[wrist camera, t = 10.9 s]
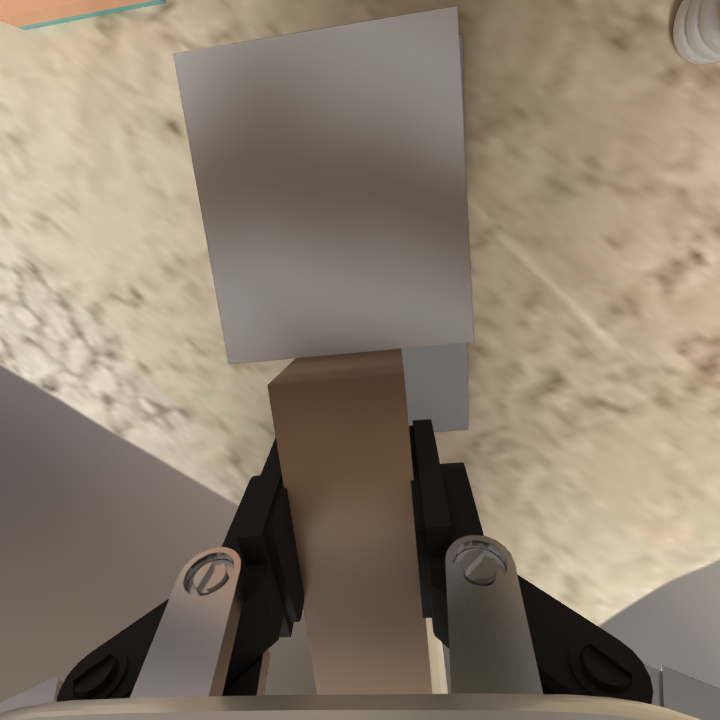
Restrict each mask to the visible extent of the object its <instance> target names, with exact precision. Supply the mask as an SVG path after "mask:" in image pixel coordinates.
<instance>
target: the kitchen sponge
mask: <svg viewBox="0 0 720 720" xmlns="http://www.w3.org/2000/svg"><path fill="white" fill-rule="evenodd" d="M162 3H166V2H165V0H0V21H2V22H5V23H8V24H10V25H13V26H15V27H18V28H21V29H23V30H28V29H33V28H39V27H44V26H49V25H54V24H59V23H64V22H69V21H74V20H80V19H85V18H90V17H95V16H100V15H105V14H110V13H115V12H121V11H126V10H131V9H136V8H141V7H146V6H151V5H157V4H162Z"/></svg>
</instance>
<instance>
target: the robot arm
mask: <svg viewBox="0 0 720 720" xmlns="http://www.w3.org/2000/svg"><path fill="white" fill-rule="evenodd" d="M409 433H410V445H411V456H412V467H413V479H414V480H411V491H412V502H413V514H414V525H415V536H416V547H417V558H418V569H419V580H420V591H421V603H422V614H423V618H426V626H427V637H428V649H429V660H430V671H431V683H432V694H350V695H269V696H268V695H267V696H264V695H265V688H266V681H267V674H268V667H269V660H270V647H271V646H272V645H273V644H274V643H275V642H276V641H278V640H279V637H291V634H292V628H293V623H294V622H299V621H300V619H301V616H302V610H303V605H304V599H305V598H304V592H303V585H302V579H301V573H300V567H299V560H298V554H297V548H296V541H295V535H294V529H293V523H292V516H291V510H290V504H289V497H288V491H287V488H284V485H283V478H282V472H281V466H280V460H279V453H278V447H277V441H276V438H275V440H274V443H273V446H272V448H271V451H270V453H269V456H268V458H267V461H266V463H265V466H264V468H263V471H262V473H261V476H253V477H252V478H251V480H250V481H249V484H248V486H247V488H246V491H245V493H244V496H243V498H242V500H241V503H240V505H239V507H238V510H237V512H236V514H235V517H234V519H233V522H232V524H231V526H230V529H229V531H228V533H227V536H226V538H225V541H224V543H223V545H222V547H217V548H213V549H209V550H207V551H204V552H202V553H200V554H198V555H197V556H196V557H194V558H193V559H192V560H190V561H189V562H188V563H187V564H186V566H185V567H184V568H183V569H182V571H181V573H180V574H179V576H178V579H177V581H176V584H175V586H174V588H173V591H172V594H171V596H170V598H169V599H168V600H166V601H165V602H163V603H162V604H160V605H159V606H158V607H156V608H155V609H153V610H152V611H150V612H149V613H147V614H146V615H145V616H143V617H142V618H140V619H139V620H137V621H136V622H134V623H133V624H132V625H130V626H129V627H127V628H126V629H124V630H123V631H121V632H120V633H119V634H117V635H116V636H114V637H113V638H111V639H110V640H108V641H107V642H105V643H104V644H103V645H101V646H100V647H98V648H97V649H96V650H94V651H92V652H91V653H90V654H88V655H87V656H86V657H85V658H84V659H82V660H81V661H80V662H79V663H78V664H77V665H76V666H75V667H74V668H73V670H72V671H71V672H70V673H69V675H68V676H67V678H66V679H64V680H61V679H60V677H59V676H57V677H55V678H53V679H51V680H48V681H46V682H44V683H42V684H40V685H38V686H36V687H34V688H31V689H29V690H27V691H25V692H23V693H21V694H19V695H16V696H14V697H12V698H10V699H8V700H6V701H3V702H1V703H0V720H720V688H718V687H715V686H712V685H710V684H707V683H705V682H703V681H700V680H698V679H695V678H693V677H690V676H688V675H685V674H683V673H680V672H678V671H676V670H673V669H670V668H668V667H666V666H663V665H662V668H661V671H660V670H658V669H655V668H653V667H651V666H648V665H646V664H643V662H642V661H641V660H640V659H639V658H638V657H637V655H636V654H635V653H634V652H633V651H632V650H631V649H630V648H628V647H627V646H626V645H625V644H623V643H622V642H621V641H620V640H618V639H616V638H615V637H613V636H612V635H610V634H609V633H607V632H606V631H604V630H603V629H601V628H599V627H598V626H596V625H595V624H593V623H592V622H590V621H589V620H587V619H586V618H584V617H582V616H581V615H579V614H578V613H576V612H575V611H573V610H572V609H570V608H568V607H567V606H565V605H564V604H562V603H561V602H559V601H558V600H556V599H554V598H553V597H551V596H550V595H548V594H547V593H545V592H544V591H542V590H540V589H539V588H537V587H536V586H534V585H533V584H531V583H530V582H528V581H526V580H525V579H523V578H522V577H520V576H519V575H517V571H516V567H515V563H514V560H513V558H512V555H511V554H510V552H509V551H508V550H507V549H506V547H505V546H503V545H502V544H501V543H499V542H498V541H496V540H494V539H491V538H489V537H486V536H484V535H483V531H482V527H481V524H480V520H479V516H478V513H477V509H476V505H475V502H474V498H473V494H472V491H471V487H470V483H469V480H468V476H467V472H466V469H465V466H464V463H447V464H440V463H439V457H438V452H437V447H436V442H435V436H434V431H433V426H432V421H431V419H425V420H413V425H411V426H409ZM442 643H443V644H444V645H445V646H447V647H448V648H449V651H450V672H451V673H450V674H451V694H448V689H447V681H446V673H445V665H444V657H443V649H442Z"/></svg>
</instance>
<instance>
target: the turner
mask: <svg viewBox="0 0 720 720" xmlns="http://www.w3.org/2000/svg"><path fill="white" fill-rule="evenodd" d="M173 56H174V61H175V67H176V72H177V78H178V83H179V89H180V95H181V100H182V106H183V111H184V117H185V123H186V128H187V134H188V139H189V145H190V151H191V156H192V162H193V167H194V173H195V178H196V184H197V190H198V195H199V201H200V206H201V212H202V218H203V223H204V229H205V234H206V240H207V246H208V251H209V257H210V262H211V268H212V273H213V279H214V285H215V290H216V296H217V301H218V307H219V313H220V318H221V324H222V329H223V335H224V341H225V346H226V352H227V357H228V363H229V364H237V363H248V362H259V361H270V360H281V359H292V358H296V359H295V360H294V361H293V362H292V363H290V364H289V365H288V366H287V367H286V368H285V369H284V370H283V371H282V372H281V373H280V374H279V375H278V376H277V377H276V378H275V379H274V380H273V381H272V382H270V383H269V384H268V391H269V397H270V404H271V410H272V416H273V422H274V429H275V435H276V441H277V447H278V453H279V460H280V466H281V472H282V478H283V485H284V488H287V491H288V497H289V504H290V510H291V516H292V523H293V529H294V535H295V541H296V548H297V554H298V560H299V567H300V573H301V579H302V585H303V592H304V598H305V599H304V605H303V609H304V615H305V621H306V627H307V634H308V640H309V647H310V653H311V659H312V665H313V671H314V678H315V684H316V689H317V695H350V694H432V683H431V671H430V660H429V649H428V637H427V626H426V618H423V614H422V603H421V591H420V580H419V569H418V558H417V547H416V536H415V525H414V514H413V502H412V491H411V480H414V479H413V467H412V456H411V445H410V433H409V422H408V411H407V399H406V388H405V377H404V367H403V359H402V350H401V348H412V347H423V346H434V345H445V344H456V343H467V342H474V325H473V306H472V286H471V266H470V247H469V227H468V207H467V187H466V168H465V148H464V128H463V109H462V89H461V69H460V50H459V30H458V10H457V6H454V7H448V8H442V9H436V10H430V11H424V12H418V13H412V14H406V15H400V16H394V17H388V18H383V19H377V20H371V21H365V22H359V23H353V24H347V25H341V26H335V27H329V28H323V29H317V30H311V31H305V32H299V33H293V34H287V35H281V36H275V37H270V38H264V39H258V40H252V41H246V42H240V43H234V44H228V45H222V46H216V47H210V48H204V49H198V50H192V51H186V52H180V53H174V54H173Z"/></svg>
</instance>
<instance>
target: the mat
mask: <svg viewBox="0 0 720 720" xmlns="http://www.w3.org/2000/svg"><path fill="white" fill-rule="evenodd" d="M459 50H460V69H461V89H462V109H463V128H464V65H463V34H460V35H459ZM464 148H465V138H464ZM401 350H402V359H403V367H404V377H405V388H406V399H407V411H408V422H409V426H411V425H413V420H425V419H431V421H432V426H433V431H434V432H440V431H455V430H468V359H467V343H456V344H445V345H434V346H423V347H412V348H401ZM295 359H296V358H294V360H295Z"/></svg>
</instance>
